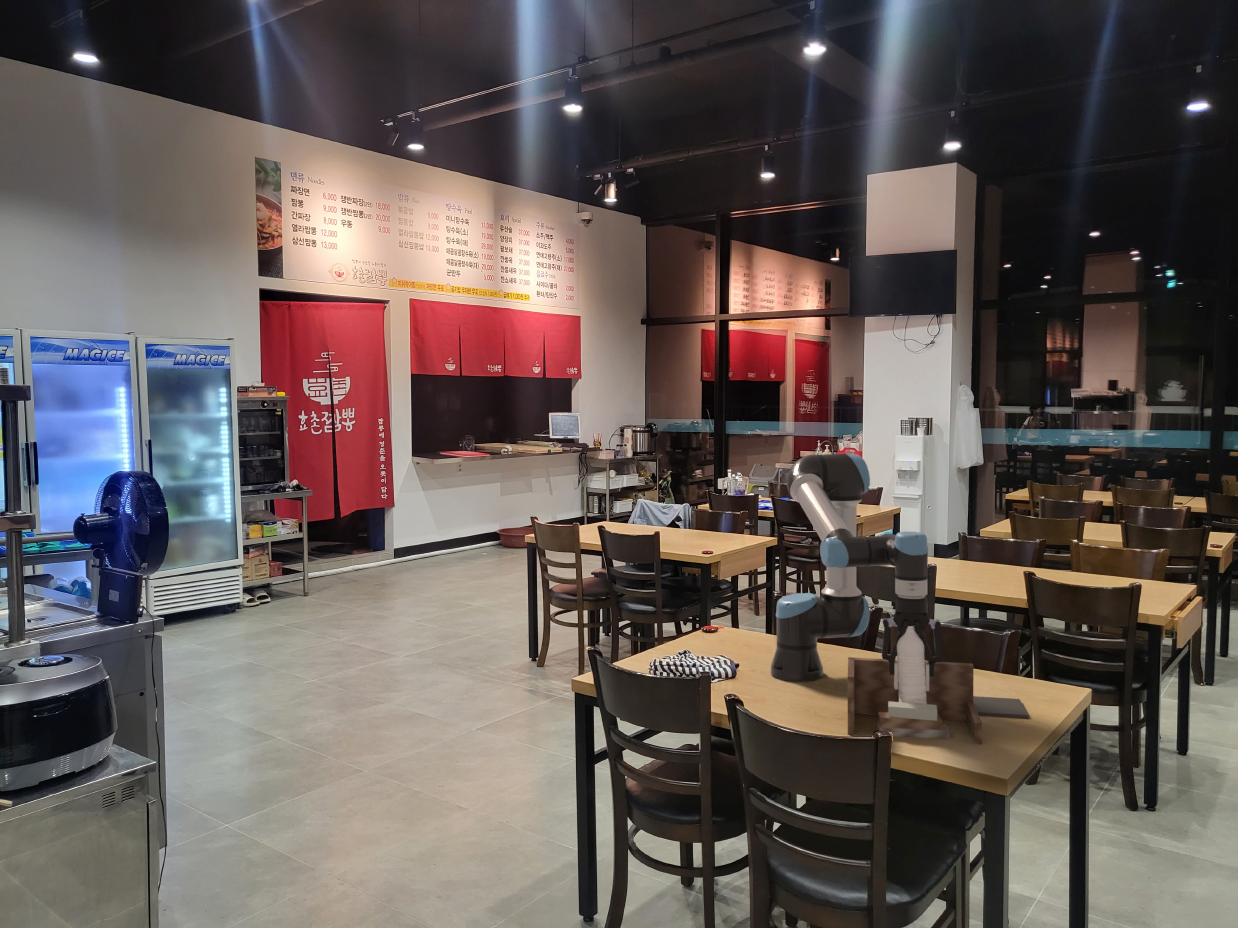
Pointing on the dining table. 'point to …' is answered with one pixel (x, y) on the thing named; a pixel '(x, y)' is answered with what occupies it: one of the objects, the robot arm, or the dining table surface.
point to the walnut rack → (946, 690)
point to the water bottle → (911, 667)
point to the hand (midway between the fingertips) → (911, 688)
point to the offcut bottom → (919, 732)
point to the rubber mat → (1000, 707)
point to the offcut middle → (908, 722)
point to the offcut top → (912, 710)
